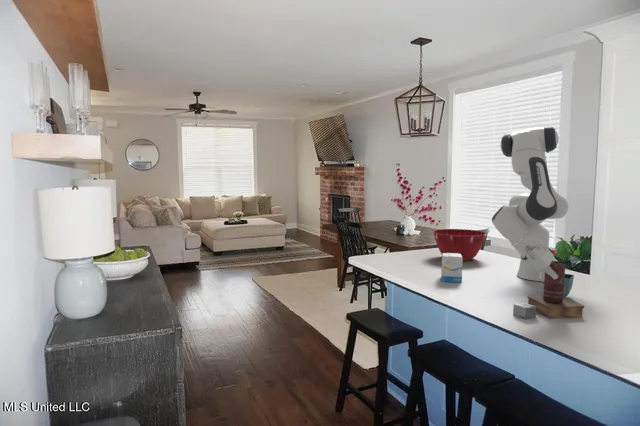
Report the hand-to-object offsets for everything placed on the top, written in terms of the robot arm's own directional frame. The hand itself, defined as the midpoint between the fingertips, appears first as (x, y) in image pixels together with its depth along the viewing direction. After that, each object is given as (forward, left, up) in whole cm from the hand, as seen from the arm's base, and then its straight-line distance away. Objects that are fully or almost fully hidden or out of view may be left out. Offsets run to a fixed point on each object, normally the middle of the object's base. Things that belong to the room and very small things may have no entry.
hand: (558, 275), depth 147 cm
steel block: (+13, +3, -14) cm, 19 cm away
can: (+1, 0, -10) cm, 10 cm away
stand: (0, 0, -13) cm, 13 cm away
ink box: (+18, -46, -14) cm, 52 cm away
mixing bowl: (-5, -90, -14) cm, 92 cm away
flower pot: (-13, -16, -14) cm, 25 cm away
